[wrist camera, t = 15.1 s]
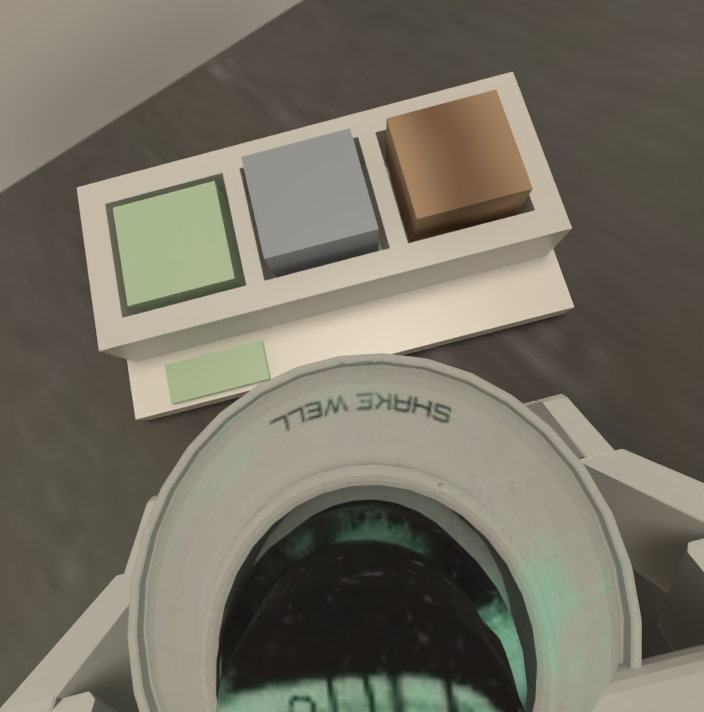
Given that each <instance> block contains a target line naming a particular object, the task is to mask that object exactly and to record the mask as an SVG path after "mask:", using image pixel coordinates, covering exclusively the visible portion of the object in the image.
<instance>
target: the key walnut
mask: <svg viewBox="0 0 704 712" xmlns="http://www.w3.org/2000/svg"><path fill="white" fill-rule="evenodd" d="M386 163H387V166H388V170H389V173H390V177H391V180H392V183H393V187H394V190H395V193H396V197H397V200H398V204H399V207H400V210H401V214H402V217H403V220H404V224H405V227H406V231H407V234H408V237H409V241H410V243H412V242H415V241H419V240H423V239H427V238H431V237H435V236H439V235H442V234H446V233H450V232H454V231H458V230H462V229H465V228H469V227H473V226H477V225H481V224H485V223H488V222H492V221H496V220H500V219H504V218H508V217H511V216H515V215H517V213H518V212H519V210H520V208H521V207H522V205H523V204H524V202H525V200H526V199H527V197H528V196H529V194H530V192H531V191H532V189H533V188H532V185H531V183H530V180H529V177H528V174H527V172H526V169H525V166H524V163H523V161H522V158H521V155H520V152H519V150H518V147H517V144H516V142H515V139H514V136H513V133H512V131H511V128H510V125H509V122H508V120H507V117H506V114H505V111H504V109H503V106H502V103H501V101H500V98H499V95H498V92H497V90H492V91H488V92H484V93H480V94H477V95H473V96H469V97H465V98H462V99H458V100H454V101H450V102H447V103H443V104H439V105H435V106H431V107H428V108H424V109H420V110H416V111H413V112H409V113H405V114H401V115H398V116H394V117H390V118H386Z"/></svg>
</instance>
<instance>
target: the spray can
mask: <svg viewBox="0 0 704 712" xmlns="http://www.w3.org/2000/svg"><path fill="white" fill-rule="evenodd" d="M127 639H128V648H129V656H130V665H131V674H132V683H133V691H134V695H135V699H136V702H137V705H138V709H139V712H593V710H594V708H595V707H596V705H597V704H598V702H599V700H600V699H601V697H602V696H603V694H604V693H605V691H606V690H607V688H608V686H609V684H610V682H611V680H612V678H613V676H614V674H615V672H616V670H617V669H618V667H619V666H620V665H627V666H629V667H630V668H638V667H640V666H641V665H642V620H641V614H640V608H639V603H638V597H637V592H636V586H635V580H634V575H633V569H632V564H631V562H630V559H629V556H628V554H627V551H626V548H625V545H624V543H623V540H622V537H621V535H620V532H619V529H618V527H617V524H616V521H615V518H614V516H613V513H612V511H611V510H610V508H609V506H608V504H607V503H606V501H605V499H604V498H603V496H602V494H601V493H600V491H599V489H598V487H597V486H596V484H595V482H594V481H593V479H592V477H591V476H590V474H589V472H588V470H587V469H586V467H585V466H584V464H583V463H582V462H581V461H580V460H579V459H578V457H577V456H576V455H575V454H574V453H573V452H572V450H571V449H570V448H569V447H568V446H567V445H566V443H565V442H564V441H563V440H562V439H561V438H560V436H559V435H558V434H557V433H556V432H555V431H554V429H553V428H552V427H551V426H549V425H548V424H547V423H546V422H545V421H543V420H542V419H541V418H540V417H538V416H537V415H536V414H535V413H533V412H532V411H531V410H530V409H529V408H527V407H526V406H525V405H524V404H522V403H521V402H520V401H519V400H518V399H516V398H515V397H514V396H512V395H510V394H509V393H507V392H505V391H503V390H501V389H500V388H498V387H496V386H494V385H492V384H490V383H489V382H487V381H485V380H483V379H481V378H480V377H478V376H476V375H474V374H472V373H470V372H467V371H463V370H460V369H457V368H454V367H451V366H448V365H445V364H442V363H439V362H436V361H433V360H430V359H425V358H417V357H410V356H402V355H394V354H386V353H378V354H362V355H346V356H337V357H333V358H329V359H326V360H322V361H318V362H314V363H310V364H306V365H302V366H299V367H296V368H294V369H291V370H289V371H287V372H285V373H283V374H281V375H279V376H277V377H275V378H273V379H270V380H268V381H266V382H264V383H262V384H260V385H258V386H256V387H255V388H253V389H252V390H251V391H249V392H248V393H246V394H245V395H244V396H242V397H241V398H240V399H238V400H237V401H235V402H234V403H233V404H231V405H230V406H229V407H227V408H226V409H225V410H223V411H222V412H220V413H219V414H218V415H217V417H216V418H215V419H214V420H213V421H212V422H211V423H210V424H209V425H208V426H207V427H206V428H205V429H204V430H203V431H202V432H201V433H200V435H199V436H198V437H197V438H196V439H195V440H194V441H193V442H192V443H191V444H190V445H189V446H188V448H187V449H186V451H185V452H184V454H183V455H182V457H181V458H180V460H179V461H178V463H177V464H176V466H175V468H174V469H173V471H172V472H171V474H170V475H169V477H168V478H167V480H166V481H165V483H164V484H163V486H162V488H161V490H160V492H159V495H158V497H157V499H156V502H155V504H154V507H153V509H152V511H151V514H150V516H149V518H148V521H147V523H146V525H145V528H144V530H143V532H142V536H141V540H140V545H139V549H138V553H137V558H136V562H135V566H134V570H133V575H132V579H131V583H130V599H129V616H128V633H127Z"/></svg>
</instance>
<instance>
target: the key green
mask: <svg viewBox="0 0 704 712" xmlns="http://www.w3.org/2000/svg"><path fill="white" fill-rule="evenodd" d="M113 213H114V220H115V227H116V233H117V240H118V246H119V253H120V259H121V266H122V272H123V279H124V285H125V292H126V298H127V305H128V307H130V308H132V309H134V310H136V311H138V312H140V313H143V312H147V311H151V310H154V309H158V308H162V307H166V306H170V305H174V304H177V303H181V302H185V301H189V300H193V299H197V298H200V297H204V296H208V295H212V294H216V293H220V292H223V291H227V290H231V289H235V288H239V287H243V286H246V281H245V276H244V272H243V267H242V262H241V258H240V253H239V248H238V243H237V239H236V234H235V229H234V225H233V220H232V215H231V210H230V206H229V202H228V201H227V199H226V198H225V196H224V195H223V193H222V192H221V190H220V189H219V187H218V185H217V184H216V182H215V181H212V182H208V183H204V184H201V185H197V186H193V187H189V188H186V189H182V190H178V191H174V192H170V193H167V194H163V195H159V196H155V197H152V198H148V199H144V200H140V201H136V202H133V203H129V204H125V205H121V206H118V207H114V208H113Z"/></svg>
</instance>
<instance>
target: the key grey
mask: <svg viewBox="0 0 704 712" xmlns="http://www.w3.org/2000/svg"><path fill="white" fill-rule="evenodd" d="M241 158H242V162H243V167H244V171H245V176H246V180H247V185H248V189H249V194H250V198H251V203H252V207H253V212H254V216H255V221H256V225H257V230H258V234H259V239H260V243H261V248H262V252H263V256H264V260H265V261H266V263H267V264H268V266H269V267H270V269H271V270H272V272H273V273H274V275H275V276H276V278H277V277H281V276H285V275H289V274H293V273H296V272H300V271H304V270H308V269H312V268H316V267H319V266H323V265H327V264H331V263H335V262H339V261H343V260H346V259H350V258H354V257H358V256H362V255H366V254H369V253H373V252H377V251H379V229H378V225H377V222H376V218H375V215H374V211H373V208H372V204H371V200H370V197H369V193H368V190H367V186H366V183H365V179H364V176H363V172H362V169H361V165H360V162H359V158H358V154H357V151H356V147H355V144H354V140H353V137H352V133H351V130H350V128H349V129H345V130H341V131H337V132H333V133H330V134H326V135H322V136H318V137H315V138H311V139H307V140H303V141H300V142H296V143H292V144H288V145H284V146H281V147H277V148H273V149H269V150H266V151H262V152H258V153H254V154H250V155H247V156H243V157H241Z"/></svg>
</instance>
